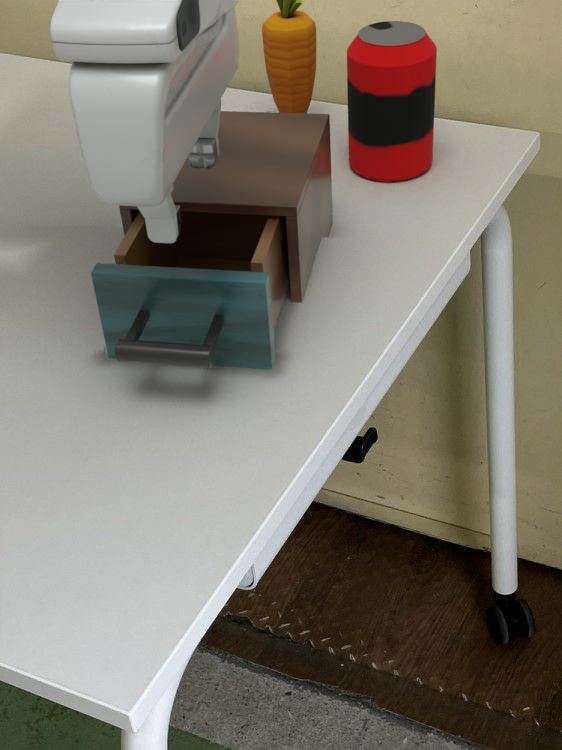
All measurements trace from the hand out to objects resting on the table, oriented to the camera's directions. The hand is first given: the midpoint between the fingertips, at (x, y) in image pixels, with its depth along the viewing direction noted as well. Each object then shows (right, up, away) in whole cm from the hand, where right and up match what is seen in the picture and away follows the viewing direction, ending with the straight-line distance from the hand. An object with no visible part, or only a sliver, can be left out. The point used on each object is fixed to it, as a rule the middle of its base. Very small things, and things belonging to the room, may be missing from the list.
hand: (186, 198), depth 64 cm
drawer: (+1, -8, +7) cm, 11 cm away
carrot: (+7, +12, +34) cm, 37 cm away
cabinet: (+3, -2, +16) cm, 16 cm away
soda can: (+16, +8, +28) cm, 33 cm away
